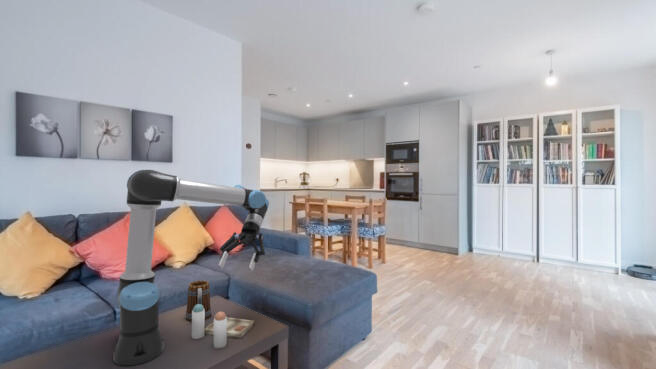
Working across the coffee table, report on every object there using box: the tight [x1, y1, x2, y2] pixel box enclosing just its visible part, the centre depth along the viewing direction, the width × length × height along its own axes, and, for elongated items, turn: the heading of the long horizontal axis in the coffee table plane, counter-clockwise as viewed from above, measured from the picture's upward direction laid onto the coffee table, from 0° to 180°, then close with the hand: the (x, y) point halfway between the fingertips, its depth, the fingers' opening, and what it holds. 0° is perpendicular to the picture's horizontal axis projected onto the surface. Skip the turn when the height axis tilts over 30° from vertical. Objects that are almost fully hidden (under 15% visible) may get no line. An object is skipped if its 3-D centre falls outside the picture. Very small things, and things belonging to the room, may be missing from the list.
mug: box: [185, 279, 212, 322], centre depth 137 cm, size 16×11×15 cm
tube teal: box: [191, 304, 206, 340], centre depth 122 cm, size 5×5×12 cm
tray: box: [204, 316, 256, 340], centre depth 128 cm, size 16×12×2 cm
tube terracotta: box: [212, 311, 228, 349], centre depth 116 cm, size 5×5×12 cm
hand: (235, 267), depth 128 cm, fingers open, 13 cm apart
